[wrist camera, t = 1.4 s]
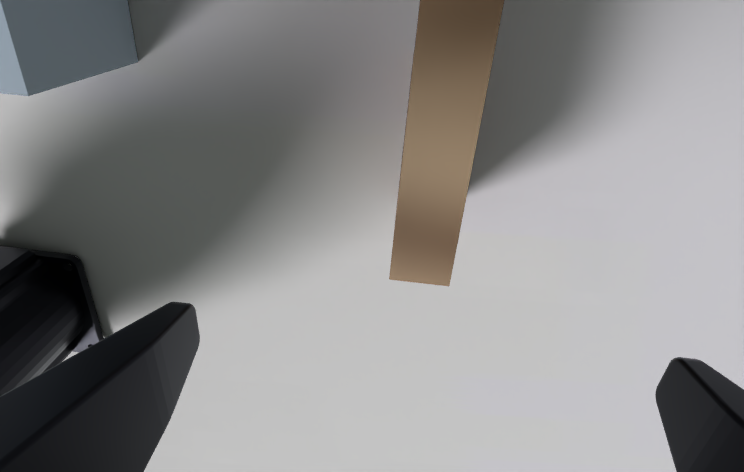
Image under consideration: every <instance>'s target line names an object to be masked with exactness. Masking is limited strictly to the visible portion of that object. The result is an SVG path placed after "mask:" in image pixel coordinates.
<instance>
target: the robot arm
mask: <svg viewBox="0 0 744 472" xmlns="http://www.w3.org/2000/svg"><path fill="white" fill-rule="evenodd" d="M69 264H70V265H69ZM199 341H200V335H199V329H198V323H197V317H196V311H195V308H194V306H193V305H192V304H190V303H182V302H170V303H168V304H166V305H164V306H162V307H161V308H159V309H157V310H155V311H153V312H152V313H150V314H148V315H146V316H144V317H143V318H141V319H139V320H137V321H135V322H134V323H132V324H130V325H128V326H126V327H125V328H123V329H121V330H119V331H117V332H115V333H114V334H112V335H110V336H108V337H106V338H105V339H104V338H103V335H102V331H101V328H100V324H99V321H98V317H97V314H96V310H95V307H94V303H93V300H92V296H91V293H90V289H89V286H88V282H87V279H86V276H85V272H84V269H83V265H82V263H81V261H80V259H79V258H77V257H76V256H74V255H71V254H62V253H54V252H45V251H36V250H29V249H23V248H14V247H6V246H0V472H144V470H145V468H146V466H147V464H148V462H149V460H150V458H151V456H152V454H153V452H154V450H155V448H156V447H157V445H158V443H159V441H160V439H161V437H162V435H163V433H164V431H165V429H166V427H167V425H168V423H169V421H170V419H171V416H172V414H173V411H174V409H175V406H176V404H177V401H178V399H179V396H180V393H181V391H182V388H183V386H184V383H185V381H186V378H187V375H188V373H189V370H190V368H191V365H192V362H193V360H194V357H195V355H196V352H197V349H198V346H199ZM72 351H74V352H79V353H78V354H76V355H74V356H72V357H70V358H69V359H67V360H65V361H63V360H64V359H65V358H66V357H67V356H68V355H69V354H70V353H71V352H72ZM62 361H63V362H62ZM656 402H657V406H658V409H659V413H660V416H661V420H662V423H663V427H664V430H665V433H666V437H667V440H668V444H669V447H670V451H671V454H672V458H673V461H674V464H675V468H676V471H677V472H744V390H743V389H742V388H740V387H739V386H738V385H736V384H735V383H733V382H732V381H730V380H729V379H727V378H726V377H724V376H723V375H722V374H720V373H719V372H717V371H716V370H714V369H713V368H711V367H710V366H708V365H707V364H706V363H704V362H702V361H700V360H697V359H690V358H681V357H678V358H674V359H673V360H671V362H670V363H669V365H668V367H667V369H666V371H665V373H664V375H663V377H662V378H661V380H660V382H659V384H658V386H657V389H656Z"/></svg>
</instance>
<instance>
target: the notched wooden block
mask: <svg viewBox="0 0 744 472" xmlns="http://www.w3.org/2000/svg"><path fill="white" fill-rule="evenodd" d="M503 4H504V0H420V6H419V15H418V24H417V33H416V42H415V50H414V57H413V66H412V75H411V84H410V93H409V102H408V111H407V120H406V129H405V138H404V147H403V156H402V165H401V174H400V183H399V192H398V201H397V210H396V220H395V229H394V239H393V248H392V258H391V268H390V277H389V279H390V280H399V281H408V282H417V283H426V284H434V285H443V286H449V284H450V279H451V274H452V269H453V264H454V258H455V253H456V248H457V243H458V238H459V232H460V227H461V222H462V217H463V212H464V206H465V201H466V196H467V191H468V186H469V181H470V175H471V170H472V165H473V160H474V155H475V149H476V144H477V139H478V134H479V129H480V124H481V118H482V113H483V108H484V103H485V98H486V92H487V87H488V82H489V77H490V72H491V66H492V61H493V56H494V51H495V46H496V41H497V35H498V30H499V25H500V20H501V15H502V9H503Z"/></svg>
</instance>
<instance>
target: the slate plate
mask: <svg viewBox="0 0 744 472" xmlns="http://www.w3.org/2000/svg"><path fill="white" fill-rule="evenodd" d="M137 62H138V59H137V53H136V47H135V41H134V35H133V29H132V23H131V17H130V12H129V6H128V0H0V93H3V94H13V95H23V96H30V95H33V94H37V93H40V92H43V91H46V90H50V89H53V88H56V87H59V86H62V85H66V84H69V83H72V82H75V81H79V80H82V79H85V78H88V77H92V76H95V75H98V74H101V73H104V72H108V71H111V70H114V69H117V68H121V67H124V66H127V65H130V64H133V63H137Z"/></svg>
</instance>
